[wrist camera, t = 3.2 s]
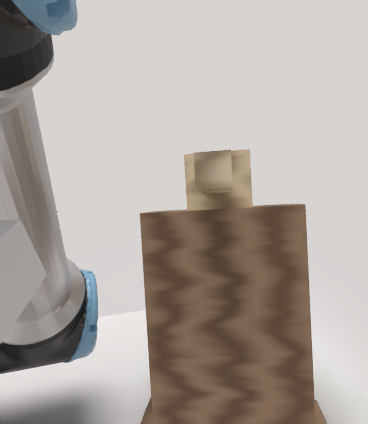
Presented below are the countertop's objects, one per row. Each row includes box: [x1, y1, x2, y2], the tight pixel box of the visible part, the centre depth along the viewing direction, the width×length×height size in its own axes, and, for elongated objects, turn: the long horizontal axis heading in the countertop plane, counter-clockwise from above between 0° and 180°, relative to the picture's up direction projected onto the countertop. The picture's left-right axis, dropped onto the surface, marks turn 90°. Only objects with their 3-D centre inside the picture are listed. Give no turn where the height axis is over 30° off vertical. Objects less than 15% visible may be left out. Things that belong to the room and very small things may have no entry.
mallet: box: [184, 150, 253, 211], centre depth 35 cm, size 8×21×7 cm, turn 172°
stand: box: [140, 204, 327, 424], centre depth 41 cm, size 24×7×30 cm, turn 82°
